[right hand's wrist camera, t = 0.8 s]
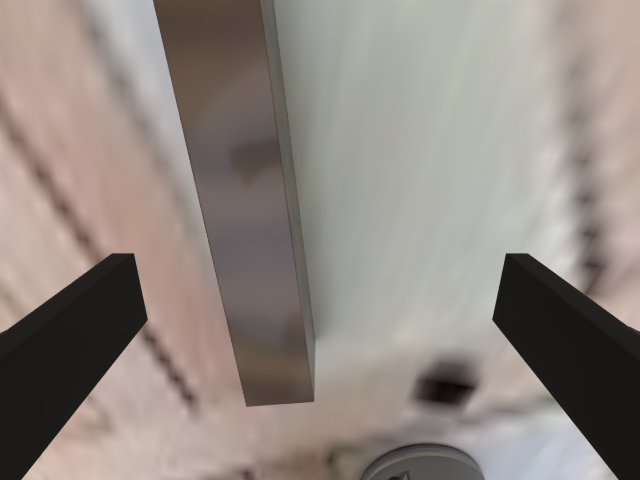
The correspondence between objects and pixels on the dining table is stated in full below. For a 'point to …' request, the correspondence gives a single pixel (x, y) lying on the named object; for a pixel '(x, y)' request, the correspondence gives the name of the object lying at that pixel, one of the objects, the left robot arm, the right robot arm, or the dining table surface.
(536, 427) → the dining table surface
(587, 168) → the dining table surface
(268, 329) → the post
